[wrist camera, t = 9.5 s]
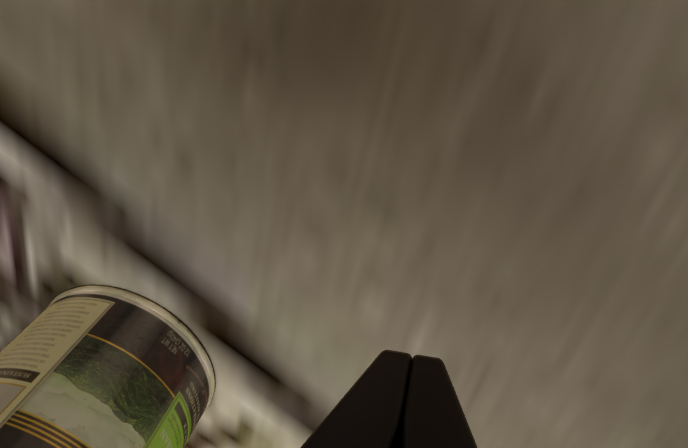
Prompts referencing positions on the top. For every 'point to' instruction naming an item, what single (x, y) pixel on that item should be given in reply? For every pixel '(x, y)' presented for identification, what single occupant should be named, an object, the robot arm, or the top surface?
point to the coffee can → (103, 375)
